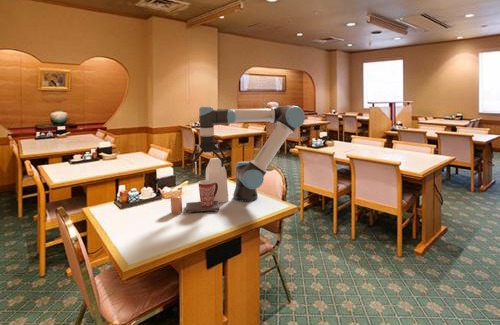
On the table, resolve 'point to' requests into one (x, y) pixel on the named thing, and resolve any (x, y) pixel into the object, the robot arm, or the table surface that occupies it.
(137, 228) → the table surface
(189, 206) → the board
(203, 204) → the mug
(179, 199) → the brown short cylinder
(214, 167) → the milk
